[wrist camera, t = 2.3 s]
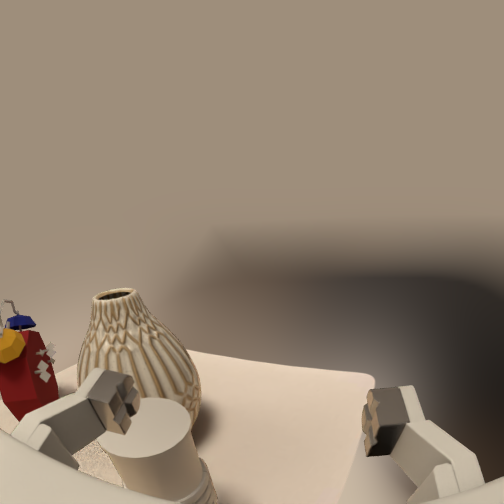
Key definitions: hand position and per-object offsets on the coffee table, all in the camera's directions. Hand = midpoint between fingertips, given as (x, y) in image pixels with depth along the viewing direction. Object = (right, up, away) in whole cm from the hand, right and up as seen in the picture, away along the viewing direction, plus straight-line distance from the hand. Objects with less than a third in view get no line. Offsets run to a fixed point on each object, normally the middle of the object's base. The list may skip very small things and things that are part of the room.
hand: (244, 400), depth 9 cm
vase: (-13, -20, +26) cm, 35 cm away
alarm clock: (-32, -22, +27) cm, 47 cm away
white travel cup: (-5, -21, +10) cm, 24 cm away
